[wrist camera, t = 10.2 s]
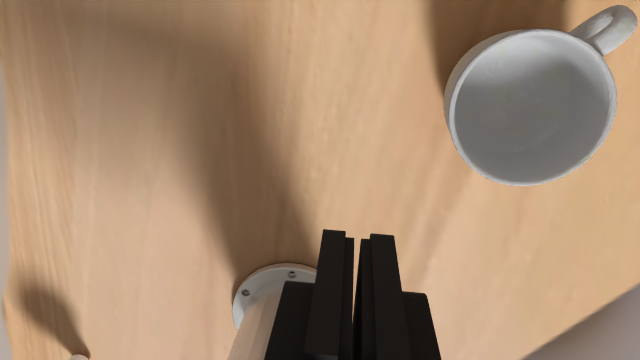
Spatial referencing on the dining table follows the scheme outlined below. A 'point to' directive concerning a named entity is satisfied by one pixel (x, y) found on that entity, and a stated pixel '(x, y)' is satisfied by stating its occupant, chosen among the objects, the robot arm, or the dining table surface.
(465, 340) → the dining table surface
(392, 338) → the robot arm
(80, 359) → the lightbulb
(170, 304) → the dining table surface
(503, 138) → the teacup
